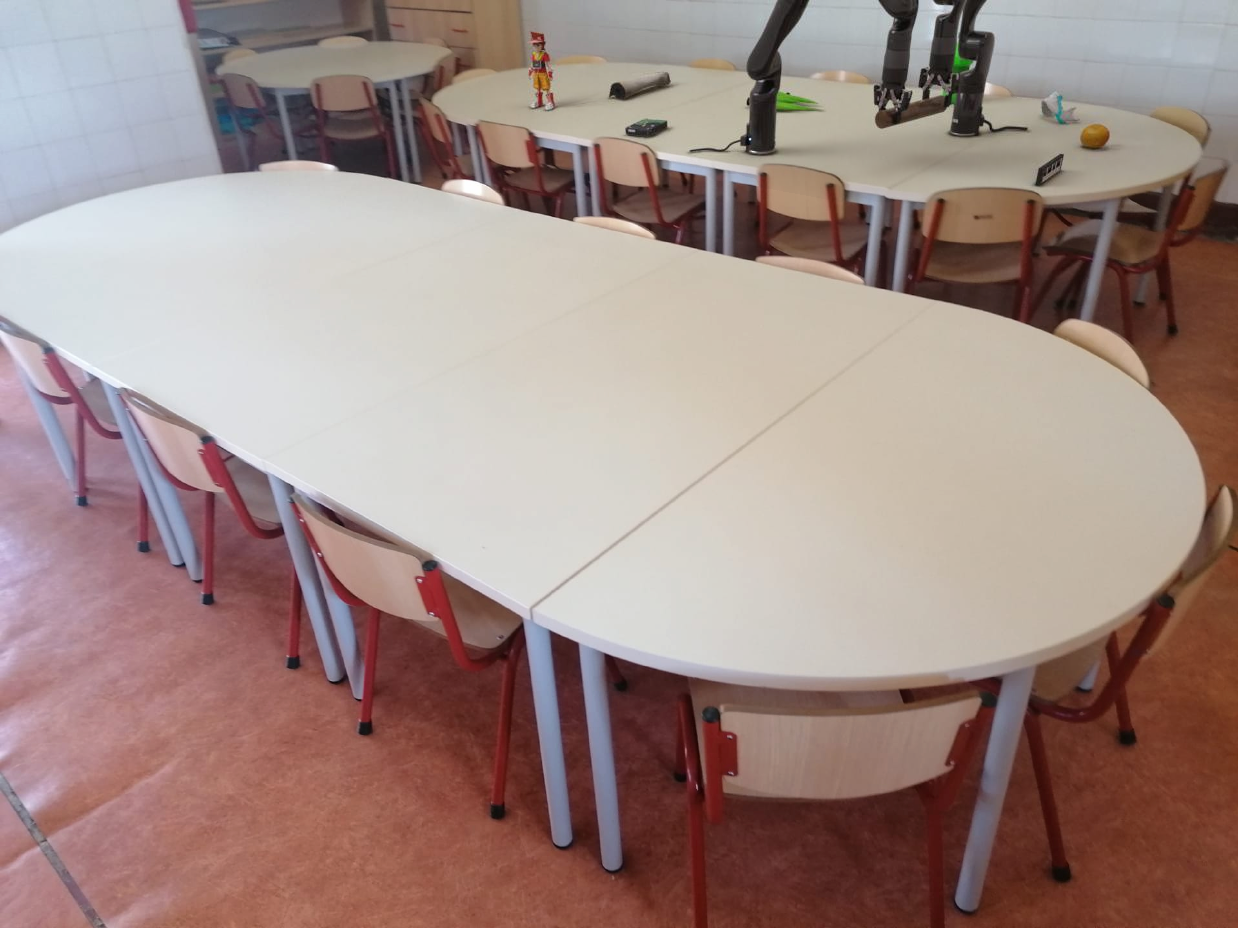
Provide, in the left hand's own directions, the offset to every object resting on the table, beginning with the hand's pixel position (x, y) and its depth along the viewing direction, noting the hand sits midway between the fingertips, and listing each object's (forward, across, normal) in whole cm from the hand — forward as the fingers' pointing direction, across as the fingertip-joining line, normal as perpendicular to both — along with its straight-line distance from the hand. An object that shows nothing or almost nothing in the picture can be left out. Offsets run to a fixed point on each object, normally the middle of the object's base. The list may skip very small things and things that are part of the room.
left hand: (888, 122), depth 283 cm
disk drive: (+16, -92, -30) cm, 98 cm away
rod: (+1, 0, +10) cm, 10 cm away
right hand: (-2, 0, +21) cm, 21 cm away
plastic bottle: (+14, -40, +83) cm, 93 cm away
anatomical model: (+14, +2, +88) cm, 89 cm away
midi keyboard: (+14, +41, +28) cm, 51 cm away
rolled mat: (+16, -147, +6) cm, 148 cm away
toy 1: (+16, -155, -40) cm, 161 cm away
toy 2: (+15, -81, +32) cm, 88 cm away
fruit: (+14, +31, +66) cm, 74 cm away
